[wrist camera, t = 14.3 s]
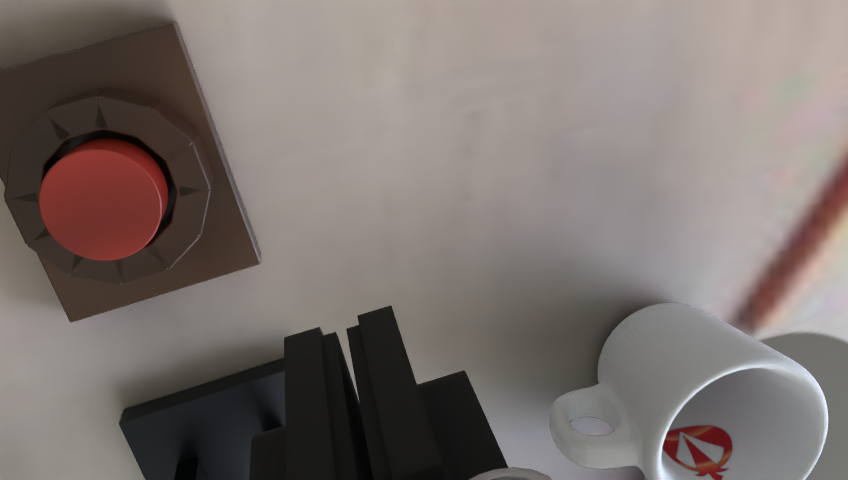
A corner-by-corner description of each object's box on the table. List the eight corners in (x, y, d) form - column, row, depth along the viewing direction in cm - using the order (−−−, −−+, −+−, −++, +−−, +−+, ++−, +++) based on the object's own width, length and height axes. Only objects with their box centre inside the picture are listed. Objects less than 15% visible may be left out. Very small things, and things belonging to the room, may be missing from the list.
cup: (527, 451, 39) (588, 563, 32) (514, 310, 36) (577, 397, 29) (724, 406, 41) (826, 503, 33) (725, 267, 38) (837, 339, 30)
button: (33, 156, 28) (17, 169, 26) (144, 124, 28) (136, 134, 26) (79, 256, 29) (67, 275, 27) (184, 224, 29) (179, 241, 28)
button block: (-34, 79, 29) (-68, 91, 26) (176, 20, 30) (167, 26, 27) (76, 311, 32) (57, 345, 30) (261, 254, 33) (261, 282, 30)
